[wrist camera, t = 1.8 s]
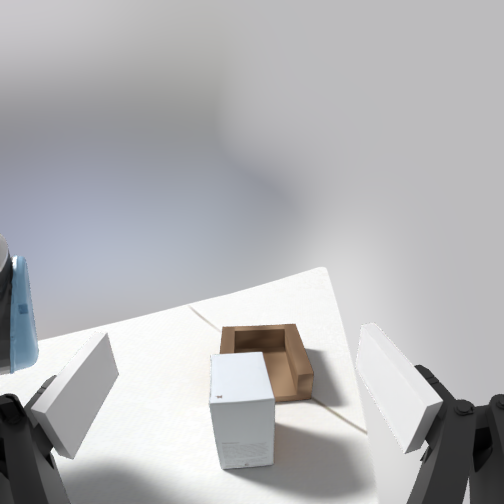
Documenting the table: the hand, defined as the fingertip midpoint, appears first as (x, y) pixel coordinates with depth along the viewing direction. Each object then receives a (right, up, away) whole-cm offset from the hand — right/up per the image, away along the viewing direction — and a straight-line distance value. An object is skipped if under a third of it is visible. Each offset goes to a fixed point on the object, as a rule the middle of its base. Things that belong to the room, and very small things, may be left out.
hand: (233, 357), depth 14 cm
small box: (0, -17, +14) cm, 22 cm away
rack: (+2, -13, +28) cm, 31 cm away
